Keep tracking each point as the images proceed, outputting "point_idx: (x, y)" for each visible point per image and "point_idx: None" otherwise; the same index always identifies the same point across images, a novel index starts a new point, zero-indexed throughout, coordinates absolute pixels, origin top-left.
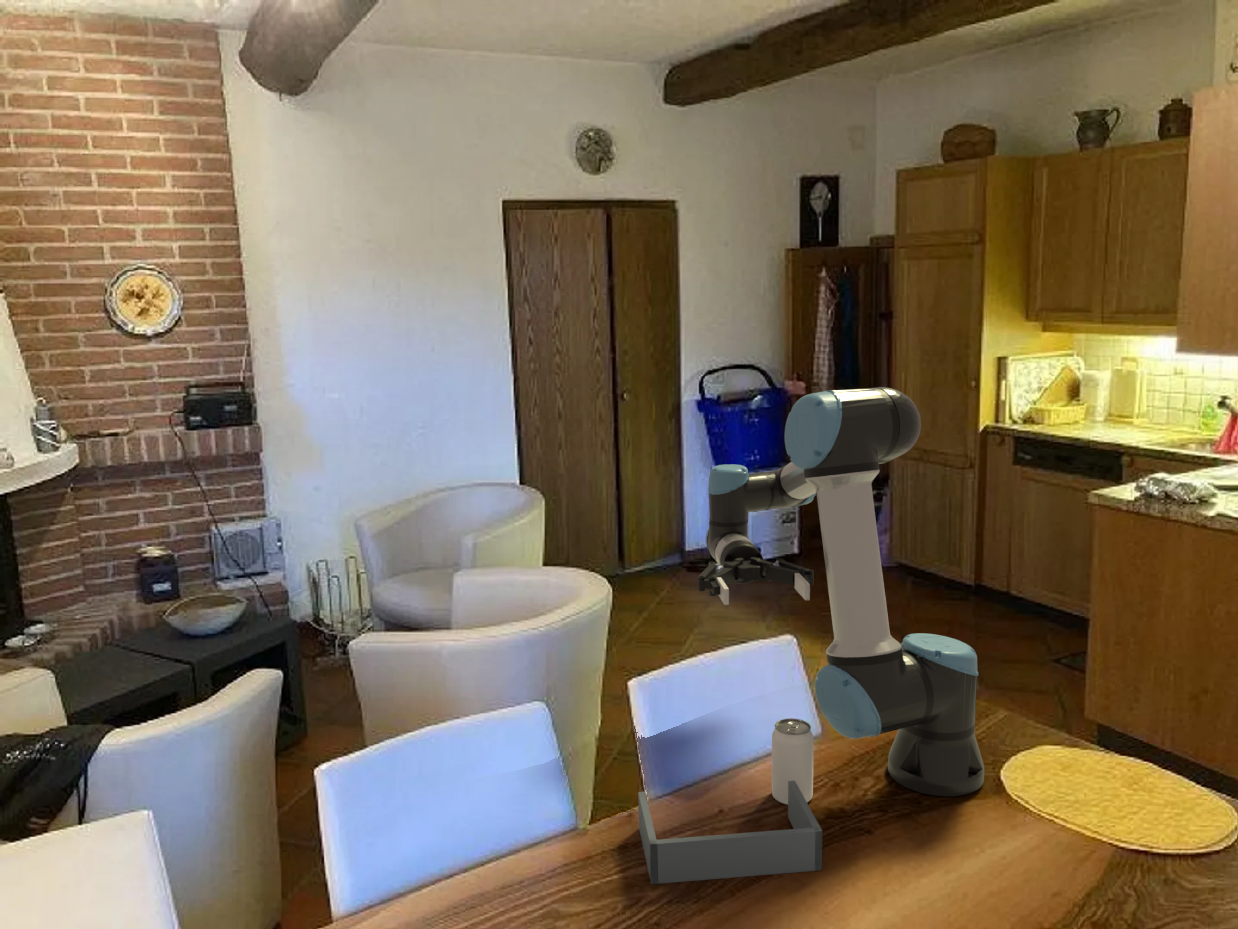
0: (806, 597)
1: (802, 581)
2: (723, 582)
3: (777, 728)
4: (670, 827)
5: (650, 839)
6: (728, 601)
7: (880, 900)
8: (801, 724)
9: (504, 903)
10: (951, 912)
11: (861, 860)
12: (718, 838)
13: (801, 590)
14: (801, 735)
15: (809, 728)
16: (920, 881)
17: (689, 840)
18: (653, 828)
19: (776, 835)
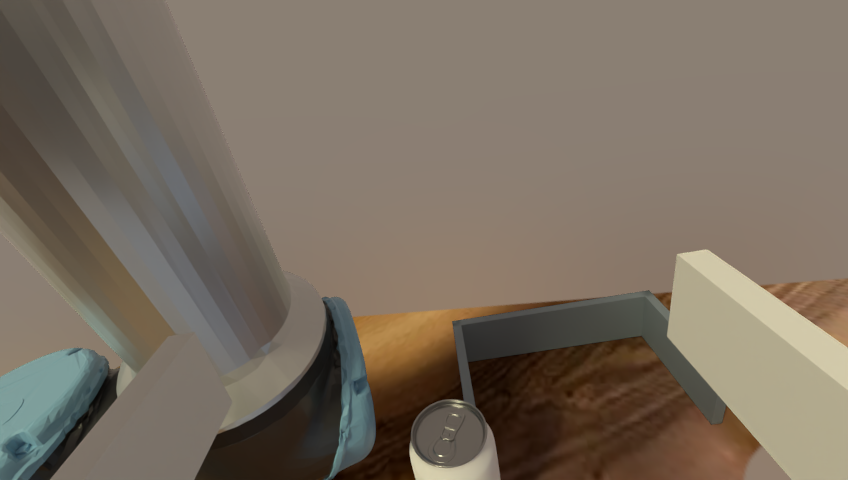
0: (220, 390)
1: (158, 379)
2: (807, 349)
3: (482, 431)
4: (670, 428)
5: (652, 296)
6: (671, 319)
7: (415, 328)
8: (426, 448)
9: (797, 298)
10: (363, 321)
11: (411, 374)
12: (570, 303)
13: (177, 452)
14: (438, 405)
15: (414, 433)
16: (367, 350)
17: (604, 298)
18: (658, 310)
19: (504, 313)
